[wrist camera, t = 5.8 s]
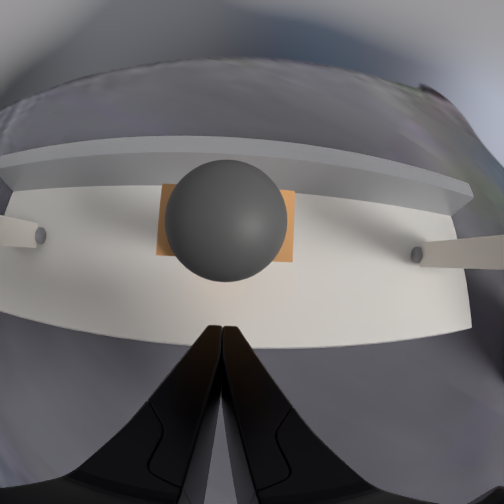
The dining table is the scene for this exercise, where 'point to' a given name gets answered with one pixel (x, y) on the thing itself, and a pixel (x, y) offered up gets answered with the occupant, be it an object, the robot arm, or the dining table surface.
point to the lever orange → (226, 221)
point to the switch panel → (244, 291)
